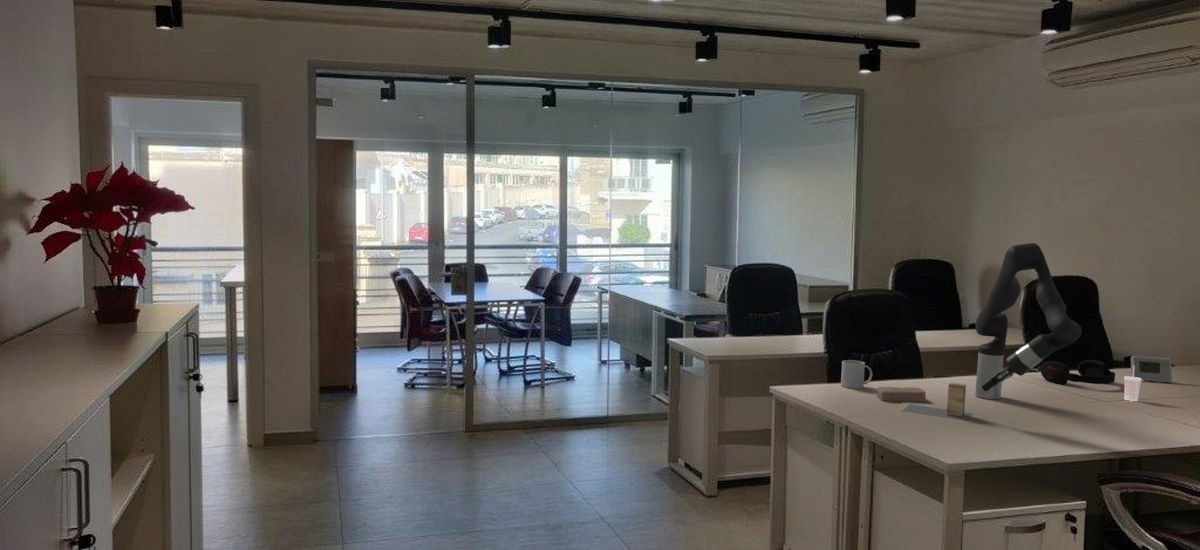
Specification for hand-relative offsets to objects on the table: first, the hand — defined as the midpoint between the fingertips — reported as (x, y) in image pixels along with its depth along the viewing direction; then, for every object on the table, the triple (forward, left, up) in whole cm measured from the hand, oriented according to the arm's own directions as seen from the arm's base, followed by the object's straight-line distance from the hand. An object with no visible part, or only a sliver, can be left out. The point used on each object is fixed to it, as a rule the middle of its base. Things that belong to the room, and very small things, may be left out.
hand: (983, 389), depth 307 cm
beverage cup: (-76, +44, -11) cm, 88 cm away
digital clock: (-128, +51, -11) cm, 139 cm away
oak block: (-1, -9, -11) cm, 14 cm away
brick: (-15, -31, -12) cm, 36 cm away
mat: (-1, -15, -11) cm, 19 cm away
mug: (-27, -52, -11) cm, 59 cm away
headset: (-103, +24, -12) cm, 107 cm away
